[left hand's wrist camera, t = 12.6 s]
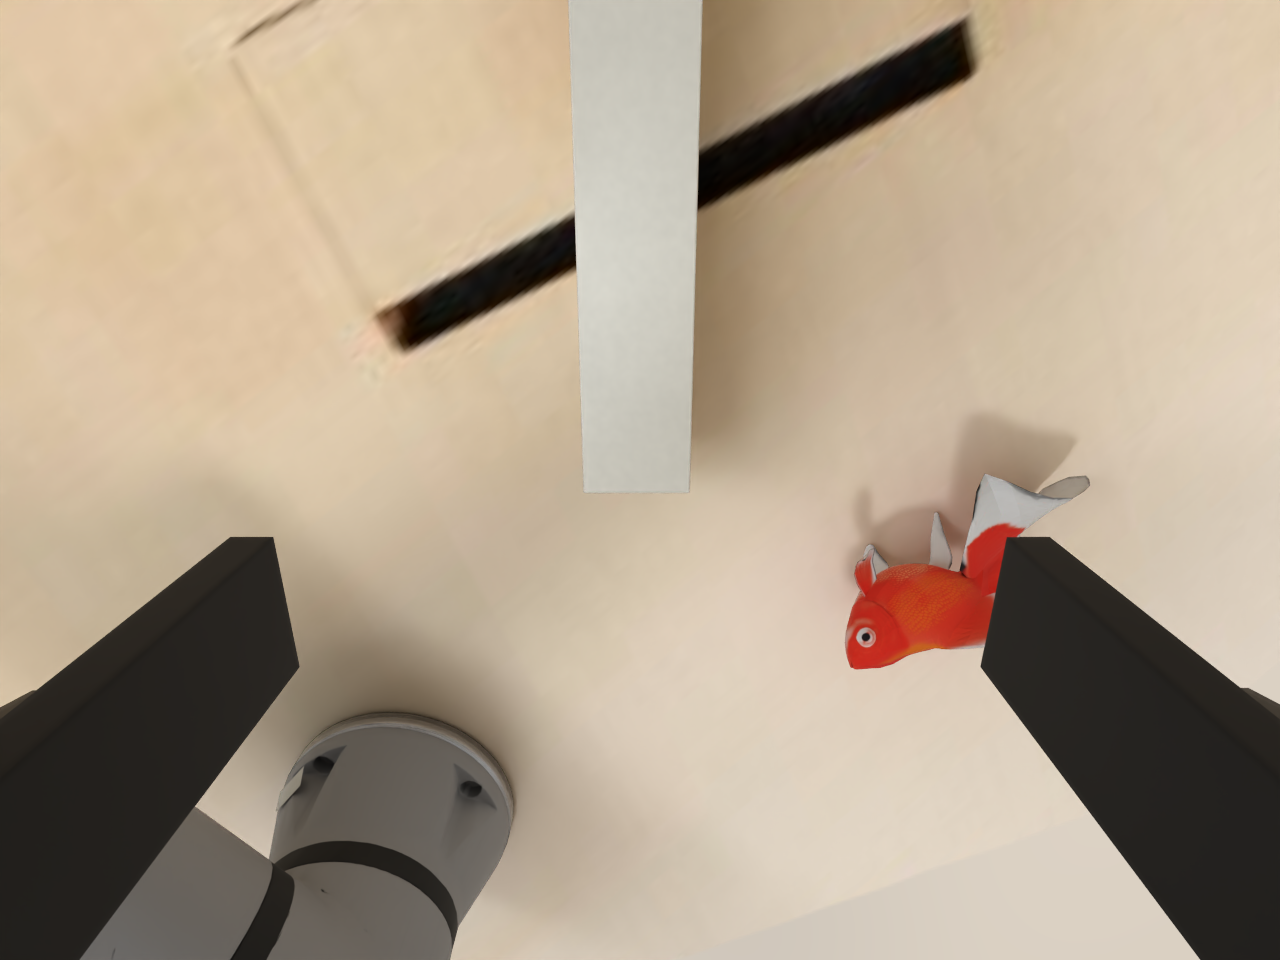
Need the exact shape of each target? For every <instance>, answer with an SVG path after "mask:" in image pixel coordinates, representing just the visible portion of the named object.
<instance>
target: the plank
mask: <svg viewBox="0 0 1280 960" xmlns="http://www.w3.org/2000/svg"><path fill="white" fill-rule="evenodd" d="M568 6H569V38H570V71H571V103H572V135H573V167H574V200H575V232H576V264H577V296H578V328H579V361H580V393H581V425H582V457H583V490H584V493H689V492H690V467H691V428H692V390H693V352H694V314H695V276H696V237H697V199H698V161H699V123H700V85H701V47H702V8H703V0H568Z"/></svg>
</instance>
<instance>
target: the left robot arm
mask: <svg viewBox="0 0 1280 960" xmlns="http://www.w3.org/2000/svg"><path fill="white" fill-rule="evenodd" d="M298 668H299V662H298V657H297V652H296V647H295V642H294V637H293V632H292V627H291V623H290V618H289V613H288V608H287V603H286V598H285V593H284V588H283V583H282V578H281V573H280V568H279V563H278V558H277V553H276V548H275V543H274V538H273V537H230V538H229V539H227V540H226V541H225V542H224V543H222V544H221V545H220V546H219V547H217V548H216V549H215V550H213V551H212V552H211V553H210V554H208V555H207V556H206V557H205V558H203V559H202V560H201V561H200V562H198V563H197V564H196V565H194V566H193V567H192V568H191V569H189V570H188V571H187V572H186V573H184V574H183V575H182V576H181V577H179V578H178V579H177V580H176V581H174V582H173V583H172V584H170V585H169V586H168V587H167V588H165V589H164V590H163V591H162V592H160V593H159V594H158V595H157V596H155V597H154V598H153V599H151V600H150V601H149V602H148V603H146V604H145V605H144V606H143V607H141V608H140V609H139V610H138V611H136V612H135V613H134V614H133V615H131V616H130V617H129V618H127V619H126V620H125V621H124V622H122V623H121V624H120V625H119V626H117V627H116V628H115V629H114V630H112V631H111V632H110V633H109V634H107V635H106V636H105V637H103V638H102V639H101V640H100V641H98V642H97V643H96V644H95V645H93V646H92V647H91V648H90V649H88V650H87V651H86V652H84V653H83V654H82V655H81V656H79V657H78V658H77V659H76V660H74V661H73V662H72V663H71V664H69V665H68V666H67V667H66V668H64V669H63V670H62V671H60V672H59V673H58V674H57V675H55V676H54V677H53V678H52V679H50V680H49V681H48V682H47V683H45V684H44V685H43V686H41V687H40V688H39V689H38V690H36V691H31V692H29V693H27V694H25V695H23V696H21V697H19V698H17V699H15V700H14V701H12V702H10V703H8V704H6V705H4V706H2V707H0V960H450V957H451V952H452V948H453V945H454V941H455V937H456V933H457V929H458V926H459V925H460V923H461V922H462V920H463V918H464V917H465V915H466V914H467V912H468V911H469V909H470V907H471V906H472V904H473V903H474V901H475V900H476V898H477V896H478V895H479V893H480V892H481V890H482V889H483V887H484V885H485V884H486V882H487V881H488V879H489V878H490V876H491V874H492V873H493V871H494V870H495V868H496V866H497V865H498V863H499V861H500V859H501V857H502V854H503V852H504V849H505V847H506V844H507V841H508V837H509V833H510V828H511V823H512V818H513V798H512V793H511V789H510V786H509V783H508V780H507V778H506V776H505V774H504V772H503V770H502V769H501V767H500V766H499V764H498V763H497V762H496V760H495V759H494V758H493V757H492V755H491V754H490V753H489V752H488V751H487V750H486V749H485V748H484V747H482V746H481V745H480V744H479V743H478V742H476V741H475V740H474V739H472V738H471V737H469V736H468V735H467V734H465V733H463V732H461V731H460V730H458V729H456V728H454V727H452V726H450V725H447V724H445V723H442V722H440V721H437V720H434V719H430V718H427V717H423V716H418V715H413V714H406V713H374V714H367V715H362V716H357V717H354V718H350V719H347V720H344V721H342V722H339V723H337V724H335V725H333V726H331V727H329V728H328V729H326V730H325V731H323V732H322V733H320V734H319V735H318V736H317V737H316V738H314V739H313V740H312V741H311V742H310V743H309V745H308V746H307V747H306V748H305V750H304V751H303V752H302V754H301V755H300V757H299V759H298V760H297V762H296V763H295V765H294V767H293V768H292V770H291V772H290V774H289V776H288V778H287V781H286V783H285V786H284V788H283V790H282V791H281V792H280V796H279V800H278V805H277V809H276V811H277V810H278V814H277V819H276V824H275V830H274V835H273V840H272V846H271V851H270V856H269V859H267V858H266V857H264V856H263V855H262V854H260V853H259V852H257V851H256V850H255V849H253V848H252V847H250V846H249V845H248V844H246V843H245V842H244V841H242V840H241V839H239V838H238V837H237V836H235V835H234V834H232V833H231V832H230V831H228V830H227V829H226V828H224V827H223V826H221V825H220V824H219V823H217V822H216V821H214V820H213V819H212V818H210V817H209V816H207V815H206V814H205V813H203V812H202V811H201V810H199V809H198V808H196V807H195V805H196V804H197V803H198V801H199V800H200V799H201V797H202V796H203V795H204V793H205V792H206V791H207V789H208V788H209V787H210V785H211V784H212V783H213V781H214V780H215V779H216V777H217V776H218V775H219V773H220V772H221V771H222V769H223V768H224V767H225V765H226V764H227V763H228V761H229V760H230V759H231V757H232V756H233V755H234V753H235V752H236V751H237V749H238V748H239V747H240V745H241V744H242V743H243V741H244V740H245V739H246V737H247V736H248V735H249V733H250V732H251V731H252V729H253V728H254V727H255V725H256V724H257V723H258V721H259V720H260V719H261V717H262V716H263V715H264V713H265V712H266V711H267V709H268V708H269V707H270V705H271V704H272V703H273V701H274V700H275V699H276V697H277V696H278V695H279V693H280V692H281V691H282V689H283V688H284V687H285V685H286V684H287V683H288V681H289V680H290V679H291V677H292V676H293V675H294V673H295V672H296V671H297V669H298ZM981 668H982V669H983V671H984V672H985V673H986V675H987V676H988V677H989V679H990V680H991V681H992V683H993V684H994V685H995V687H996V688H997V689H998V691H999V692H1000V693H1001V695H1002V696H1003V697H1004V699H1005V700H1006V701H1007V703H1008V704H1009V705H1010V707H1011V708H1012V709H1013V711H1014V712H1015V713H1016V715H1017V716H1018V717H1019V719H1020V720H1021V721H1022V723H1023V724H1024V725H1025V727H1026V728H1027V729H1028V731H1029V732H1030V733H1031V735H1032V736H1033V737H1034V739H1035V740H1036V741H1037V743H1038V744H1039V745H1040V747H1041V748H1042V749H1043V751H1044V752H1045V753H1046V755H1047V756H1048V757H1049V759H1050V760H1051V761H1052V763H1053V764H1054V765H1055V767H1056V768H1057V769H1058V771H1059V772H1060V773H1061V775H1062V776H1063V777H1064V779H1065V780H1066V781H1067V783H1068V784H1069V785H1070V787H1071V788H1072V789H1073V791H1074V792H1075V793H1076V795H1077V796H1078V797H1079V799H1080V800H1081V801H1082V803H1083V804H1084V805H1085V807H1086V808H1087V809H1088V811H1089V812H1090V813H1091V815H1092V816H1093V817H1094V819H1095V820H1096V821H1097V823H1098V824H1099V825H1100V827H1101V828H1102V829H1103V831H1104V832H1105V833H1106V835H1107V836H1108V837H1109V839H1110V840H1111V841H1112V843H1113V844H1114V845H1115V847H1116V848H1117V849H1118V851H1119V852H1120V853H1121V855H1122V856H1123V857H1124V859H1125V860H1126V861H1127V863H1128V864H1129V865H1130V867H1131V868H1132V869H1133V871H1134V872H1135V873H1136V875H1137V876H1138V877H1139V879H1140V880H1141V881H1142V883H1143V884H1144V885H1145V887H1146V888H1147V889H1148V891H1149V892H1150V893H1151V895H1152V896H1153V897H1154V899H1155V900H1156V901H1157V903H1158V904H1159V905H1160V907H1161V908H1162V909H1163V911H1164V912H1165V913H1166V915H1167V916H1168V917H1169V919H1170V920H1171V921H1172V923H1173V924H1174V925H1175V927H1176V928H1177V929H1178V931H1179V932H1180V933H1181V934H1182V936H1183V937H1184V939H1185V940H1186V941H1187V943H1188V944H1189V945H1190V947H1191V948H1192V949H1193V951H1194V952H1195V953H1196V955H1197V956H1198V957H1199V959H1200V960H1280V704H1278V703H1276V702H1274V701H1272V700H1270V699H1268V698H1266V697H1264V696H1263V695H1261V694H1259V693H1257V692H1255V691H1253V690H1251V689H1249V688H1240V687H1239V686H1237V685H1236V684H1235V683H1233V682H1232V681H1231V680H1230V679H1228V678H1227V677H1226V676H1225V675H1223V674H1222V673H1221V672H1220V671H1218V670H1217V669H1216V668H1214V667H1213V666H1212V665H1211V664H1209V663H1208V662H1207V661H1206V660H1204V659H1203V658H1202V657H1201V656H1199V655H1198V654H1197V653H1196V652H1194V651H1193V650H1192V649H1190V648H1189V647H1188V646H1187V645H1185V644H1184V643H1183V642H1182V641H1180V640H1179V639H1178V638H1177V637H1175V636H1174V635H1173V634H1171V633H1170V632H1169V631H1168V630H1166V629H1165V628H1164V627H1163V626H1161V625H1160V624H1159V623H1158V622H1156V621H1155V620H1154V619H1153V618H1151V617H1150V616H1149V615H1147V614H1146V613H1145V612H1144V611H1142V610H1141V609H1140V608H1139V607H1137V606H1136V605H1135V604H1134V603H1132V602H1131V601H1130V600H1129V599H1127V598H1126V597H1125V596H1123V595H1122V594H1121V593H1120V592H1118V591H1117V590H1116V589H1115V588H1113V587H1112V586H1111V585H1110V584H1108V583H1107V582H1106V581H1104V580H1103V579H1102V578H1101V577H1099V576H1098V575H1097V574H1096V573H1094V572H1093V571H1092V570H1091V569H1089V568H1088V567H1087V566H1086V565H1084V564H1083V563H1082V562H1080V561H1079V560H1078V559H1077V558H1075V557H1074V556H1073V555H1072V554H1070V553H1069V552H1068V551H1067V550H1065V549H1064V548H1063V547H1061V546H1060V545H1059V544H1058V543H1056V542H1055V541H1054V540H1053V539H1051V538H1050V537H1007V538H1006V543H1005V548H1004V553H1003V558H1002V563H1001V568H1000V573H999V578H998V583H997V588H996V593H995V598H994V603H993V608H992V613H991V618H990V623H989V627H988V632H987V637H986V642H985V647H984V652H983V657H982V662H981Z"/></svg>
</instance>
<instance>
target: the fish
mask: <svg viewBox="0 0 1280 960" xmlns="http://www.w3.org/2000/svg"><path fill="white" fill-rule="evenodd" d="M1089 486H1090V482H1089V479H1088V478H1087V477H1086V476H1077V477H1068V478H1066V479H1063V480H1061V481H1058V482H1056V483H1054V484H1052V485H1050V486H1048V487H1046V488H1044V489H1043V490H1042V491H1041V492H1040V493H1039V494H1037V493H1033V492H1029V491H1027V490H1025V489H1023V488H1021V487H1019V486H1017V485H1014V484H1012V483H1010V482H1008V481H1005V480H1002V479H999V478H996V477H993V476H990V475H987V474H984V476H983V478H982V481H981V483H980V485H979V487H978V489H977V492H976V499H975V505H974V512H973V519H972V522H971V526H970V529H969V533H968V537H967V541H966V545H965V549H964V554H963V558H962V563H961V567H960V571H959V572H955V571H951V570H949V569H950V566H951V564H952V554H951V551H950V548H949V545H948V542H947V540H946V537H945V534H944V531H943V528H942V525H941V521H940V518H939V514H938V513H937V512H935V513H934V520H933V526H932V532H931V555H930V561H929V564H903V565H897V566H892V567H890V568H888V564H887V562H886V561H885V560H884V559H883V558H882V557H881V556H880V555H879V553H878V552H877V550H876V549H875V547H874V546H873V545H872V544H870V545H867V547H866V549H865V551H864V555H863V559H862V560H861V561H859V562H858V563H857V565H856V569H855V573H854V576H855V579H856V583H857V585H858V587H859V589H860V590H861V591H860V592H859V594H858V596H857V599H856V601H855V603H854V605H853V607H852V610H851V614H850V618H849V621H848V625H847V630H846V635H845V648H846V655H847V659H848V662H849V664H850V667H851V668H854V669H868V668H881V667H884V666H888V665H891V664H894V663H895V662H897V661H899V660H901V659H902V658H904V657H906V656H908V655H911V654H914V653H918V652H922V651H926V650H930V649H934V648H940V649H968V648H982V647H985V642H986V637H987V632H988V627H989V623H990V618H991V613H992V608H993V603H994V598H995V593H996V588H997V583H998V578H999V573H1000V568H1001V563H1002V558H1003V553H1004V548H1005V543H1006V538H1007V537H1020V533H1022V532H1023V531H1024V530H1025V529H1027V528H1028V527H1029V526H1031V525H1032V524H1033V523H1034V522H1036V521H1037V520H1038V519H1040V518H1041V517H1043V516H1044V515H1046V514H1047V513H1049V512H1050V511H1051V510H1053V509H1055V508H1056V507H1058V506H1060V505H1062V504H1064V503H1066V502H1068V501H1070V500H1071V499H1073V498H1074V497H1076V496H1077V495H1079V494H1081V493H1082V492H1084V491H1085V490H1086V489H1087V488H1088V487H1089Z"/></svg>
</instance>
